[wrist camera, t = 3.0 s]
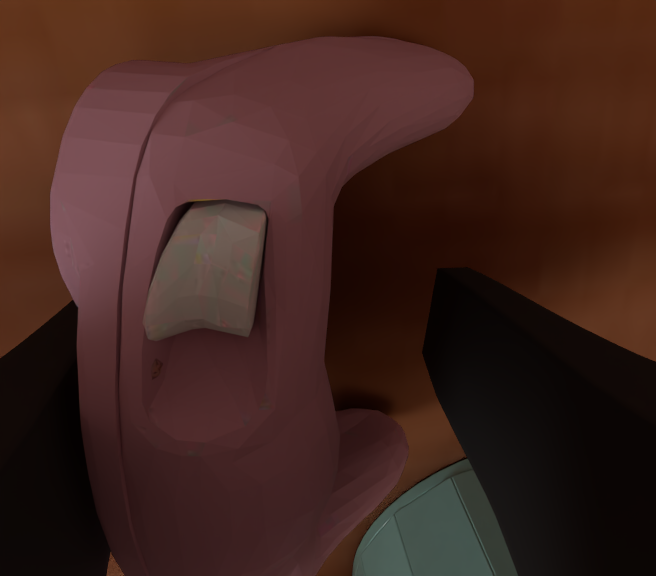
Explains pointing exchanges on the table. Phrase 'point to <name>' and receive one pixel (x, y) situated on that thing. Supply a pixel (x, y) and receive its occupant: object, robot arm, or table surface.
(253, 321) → the video game controller
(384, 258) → the table surface
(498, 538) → the pot
